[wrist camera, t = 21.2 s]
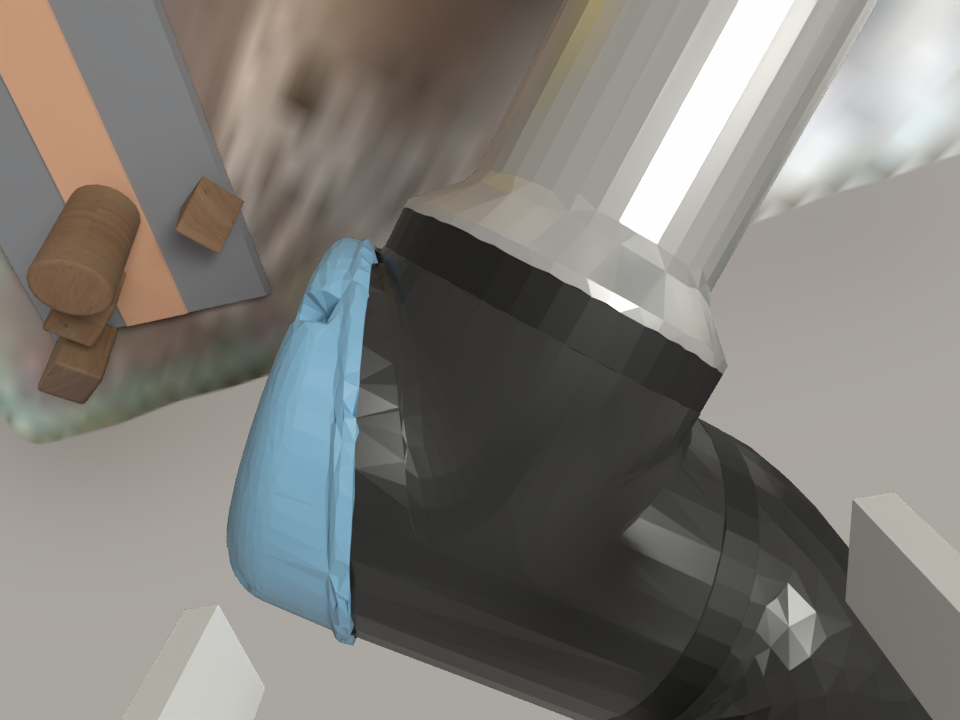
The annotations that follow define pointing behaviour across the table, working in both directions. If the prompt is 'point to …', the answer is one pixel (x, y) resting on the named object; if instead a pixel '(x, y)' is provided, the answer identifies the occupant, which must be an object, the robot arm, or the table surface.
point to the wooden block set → (104, 274)
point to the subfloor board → (112, 149)
